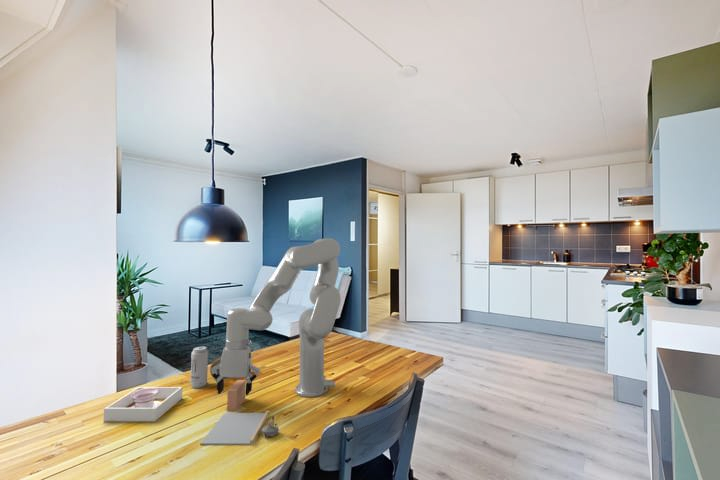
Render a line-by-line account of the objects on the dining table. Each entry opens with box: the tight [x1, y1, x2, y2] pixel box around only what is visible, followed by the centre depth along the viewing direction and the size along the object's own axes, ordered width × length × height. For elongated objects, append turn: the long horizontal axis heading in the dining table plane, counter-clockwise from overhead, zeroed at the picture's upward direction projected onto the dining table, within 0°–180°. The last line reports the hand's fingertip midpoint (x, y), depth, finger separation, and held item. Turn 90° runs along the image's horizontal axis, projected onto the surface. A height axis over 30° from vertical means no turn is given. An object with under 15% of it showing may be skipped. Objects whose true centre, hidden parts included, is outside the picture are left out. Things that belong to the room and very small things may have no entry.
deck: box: [226, 379, 246, 412], centre depth 114 cm, size 3×9×7 cm, turn 1°
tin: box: [209, 357, 229, 380], centre depth 140 cm, size 15×3×8 cm, turn 122°
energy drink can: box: [190, 346, 209, 389], centre depth 130 cm, size 6×6×15 cm
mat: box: [200, 410, 270, 446], centre depth 99 cm, size 15×17×1 cm
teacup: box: [128, 388, 162, 408], centre depth 109 cm, size 12×12×6 cm
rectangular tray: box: [103, 386, 183, 422], centre depth 110 cm, size 16×16×4 cm
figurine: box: [261, 415, 280, 439], centre depth 96 cm, size 5×4×6 cm
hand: (234, 392), depth 114 cm, fingers open, 9 cm apart
